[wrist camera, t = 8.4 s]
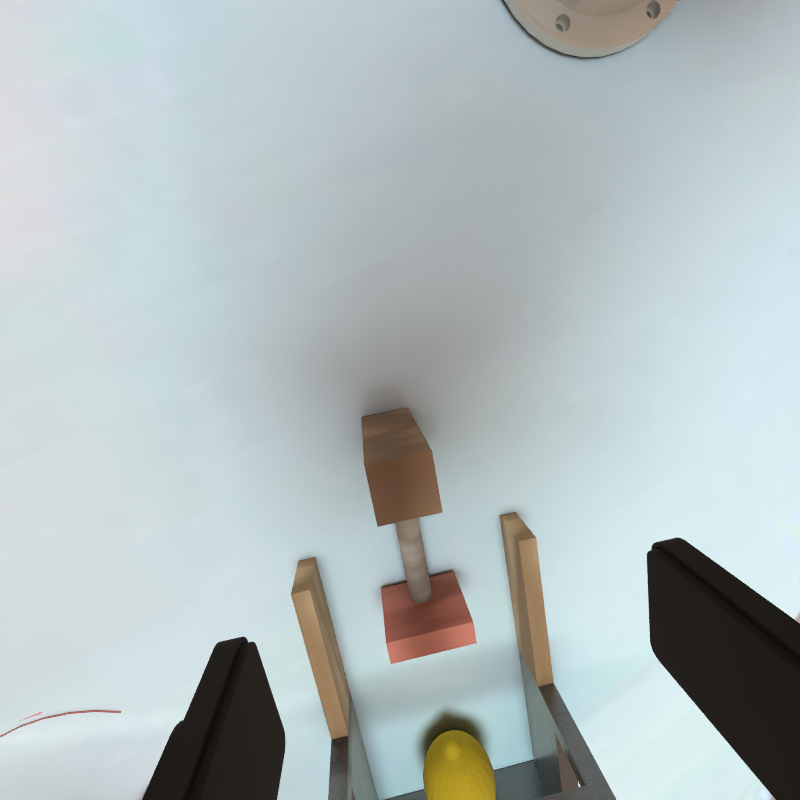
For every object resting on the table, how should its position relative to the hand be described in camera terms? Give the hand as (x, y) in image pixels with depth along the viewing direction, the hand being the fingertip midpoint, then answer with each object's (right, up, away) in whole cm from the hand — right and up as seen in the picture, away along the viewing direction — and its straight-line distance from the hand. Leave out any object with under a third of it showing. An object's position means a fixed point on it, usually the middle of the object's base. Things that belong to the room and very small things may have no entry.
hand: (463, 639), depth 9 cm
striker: (-1, -2, +20) cm, 20 cm away
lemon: (+2, -20, +22) cm, 30 cm away
